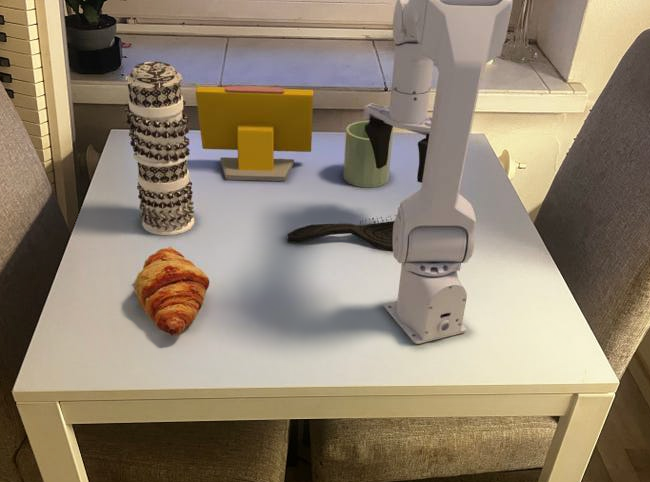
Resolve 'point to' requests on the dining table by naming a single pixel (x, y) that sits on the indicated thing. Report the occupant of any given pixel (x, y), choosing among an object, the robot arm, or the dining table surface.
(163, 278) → the croissant
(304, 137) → the yellow framed monitor
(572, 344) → the dining table surface
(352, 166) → the coffee cup
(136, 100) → the decorative candle
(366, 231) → the hairbrush
